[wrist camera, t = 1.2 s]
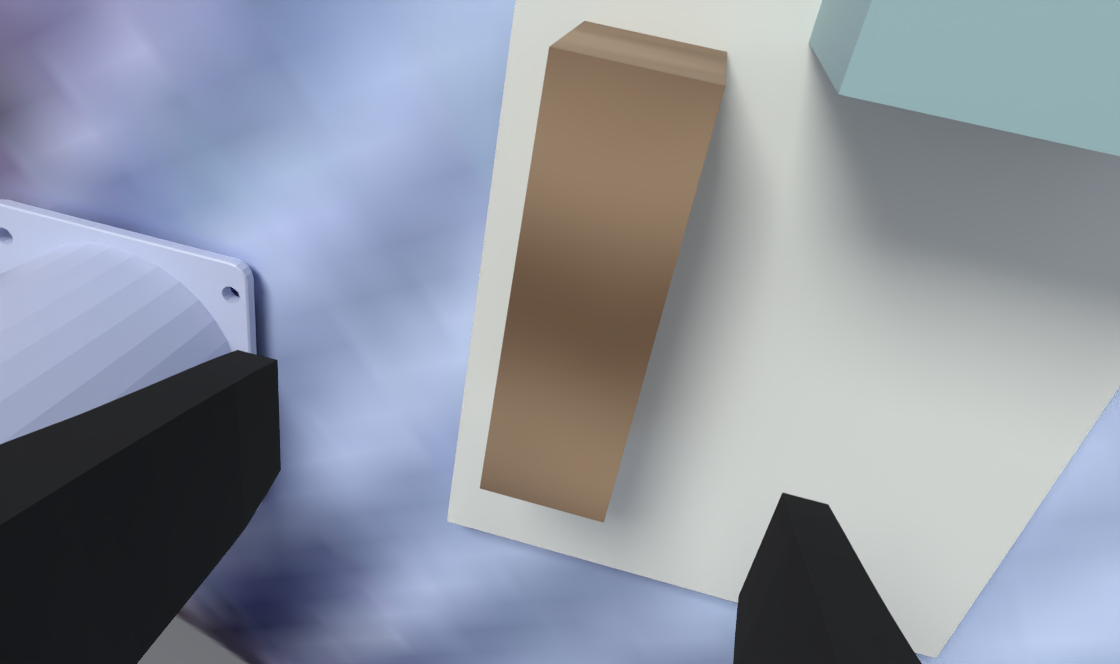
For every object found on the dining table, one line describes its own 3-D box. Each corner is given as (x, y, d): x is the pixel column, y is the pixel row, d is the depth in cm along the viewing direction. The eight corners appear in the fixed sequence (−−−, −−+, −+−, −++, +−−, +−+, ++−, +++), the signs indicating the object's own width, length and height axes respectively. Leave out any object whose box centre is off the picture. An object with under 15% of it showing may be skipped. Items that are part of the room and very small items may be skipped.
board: (929, 635, 23) (935, 658, 22) (455, 503, 24) (447, 521, 23) (1785, -674, 10) (1867, -721, 9) (635, -814, 11) (628, -862, 10)
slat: (622, 433, 21) (603, 522, 18) (516, 405, 21) (479, 488, 18) (727, 52, 15) (725, 86, 12) (584, 20, 16) (548, 46, 13)
